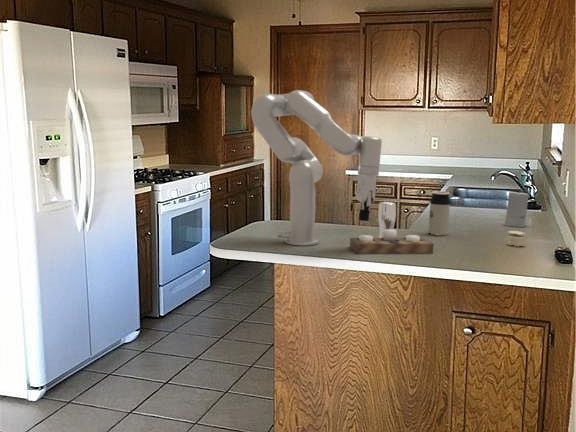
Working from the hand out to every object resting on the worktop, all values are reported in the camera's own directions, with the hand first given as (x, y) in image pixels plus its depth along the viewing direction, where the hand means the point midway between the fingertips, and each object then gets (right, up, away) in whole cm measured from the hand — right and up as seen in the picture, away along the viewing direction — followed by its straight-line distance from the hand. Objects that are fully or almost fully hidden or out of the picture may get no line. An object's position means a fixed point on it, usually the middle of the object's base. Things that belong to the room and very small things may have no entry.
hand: (363, 220), depth 234 cm
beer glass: (+11, -8, +20) cm, 24 cm away
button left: (+1, -10, +1) cm, 10 cm away
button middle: (+10, -7, +2) cm, 13 cm away
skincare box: (+79, -3, +65) cm, 102 cm away
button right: (+19, -10, +4) cm, 21 cm away
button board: (+10, -11, +1) cm, 15 cm away
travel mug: (+36, -6, +37) cm, 52 cm away
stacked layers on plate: (+62, -11, +16) cm, 65 cm away
